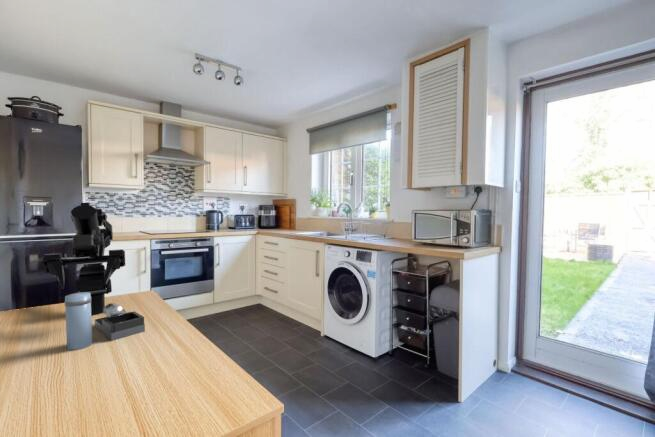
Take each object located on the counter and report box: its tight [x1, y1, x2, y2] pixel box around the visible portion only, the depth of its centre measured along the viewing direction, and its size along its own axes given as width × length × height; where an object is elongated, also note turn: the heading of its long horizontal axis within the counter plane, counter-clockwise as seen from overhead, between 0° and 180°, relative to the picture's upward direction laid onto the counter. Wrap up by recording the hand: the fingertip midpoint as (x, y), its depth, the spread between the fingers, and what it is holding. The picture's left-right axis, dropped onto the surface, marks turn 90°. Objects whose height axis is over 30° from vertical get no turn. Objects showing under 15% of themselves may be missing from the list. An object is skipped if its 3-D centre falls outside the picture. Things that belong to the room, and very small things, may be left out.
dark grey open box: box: [94, 302, 146, 342], centre depth 88 cm, size 15×8×6 cm, turn 51°
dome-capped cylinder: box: [64, 292, 93, 351], centre depth 78 cm, size 5×5×13 cm
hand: (84, 286), depth 84 cm, fingers open, 9 cm apart
